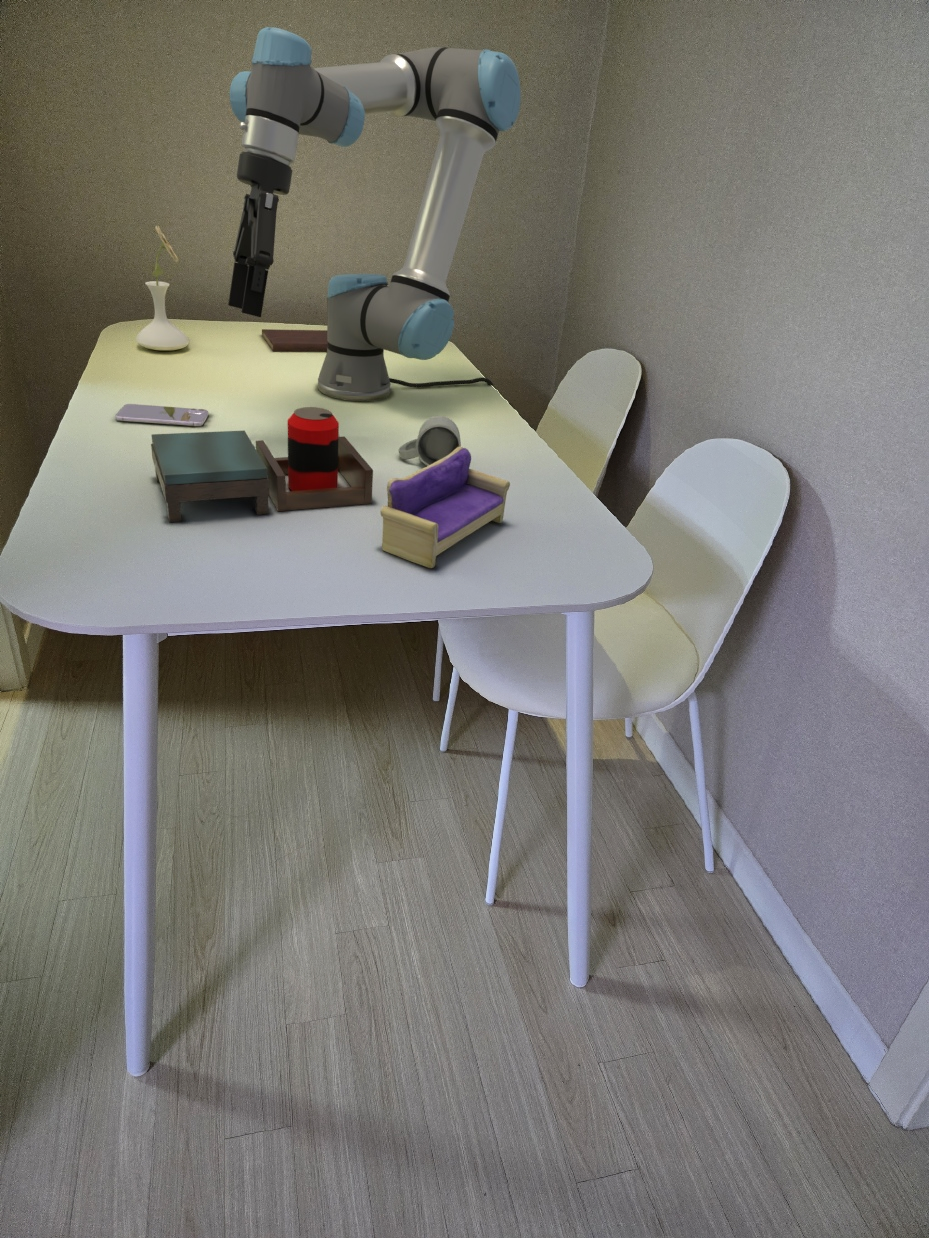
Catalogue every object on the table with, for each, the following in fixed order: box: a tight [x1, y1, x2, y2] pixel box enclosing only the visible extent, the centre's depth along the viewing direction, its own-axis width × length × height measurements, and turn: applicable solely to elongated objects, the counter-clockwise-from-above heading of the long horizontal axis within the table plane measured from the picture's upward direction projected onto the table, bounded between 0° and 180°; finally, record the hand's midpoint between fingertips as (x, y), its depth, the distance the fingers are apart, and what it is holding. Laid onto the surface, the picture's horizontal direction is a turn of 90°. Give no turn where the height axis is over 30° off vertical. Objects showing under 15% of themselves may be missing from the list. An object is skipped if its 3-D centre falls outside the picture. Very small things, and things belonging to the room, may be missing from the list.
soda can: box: [286, 406, 340, 491], centre depth 121 cm, size 8×8×12 cm
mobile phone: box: [115, 403, 210, 427], centre depth 143 cm, size 8×1×15 cm
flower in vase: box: [135, 225, 190, 351], centre depth 175 cm, size 13×11×25 cm
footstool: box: [150, 430, 270, 523], centre depth 116 cm, size 14×16×7 cm
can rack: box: [255, 435, 374, 512], centre depth 123 cm, size 14×14×6 cm
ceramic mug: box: [397, 415, 462, 467], centre depth 137 cm, size 11×8×8 cm
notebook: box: [261, 328, 327, 353], centre depth 197 cm, size 15×20×2 cm
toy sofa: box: [380, 446, 511, 569], centre depth 112 cm, size 21×9×10 cm, turn 148°
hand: (243, 311), depth 121 cm, fingers open, 13 cm apart
